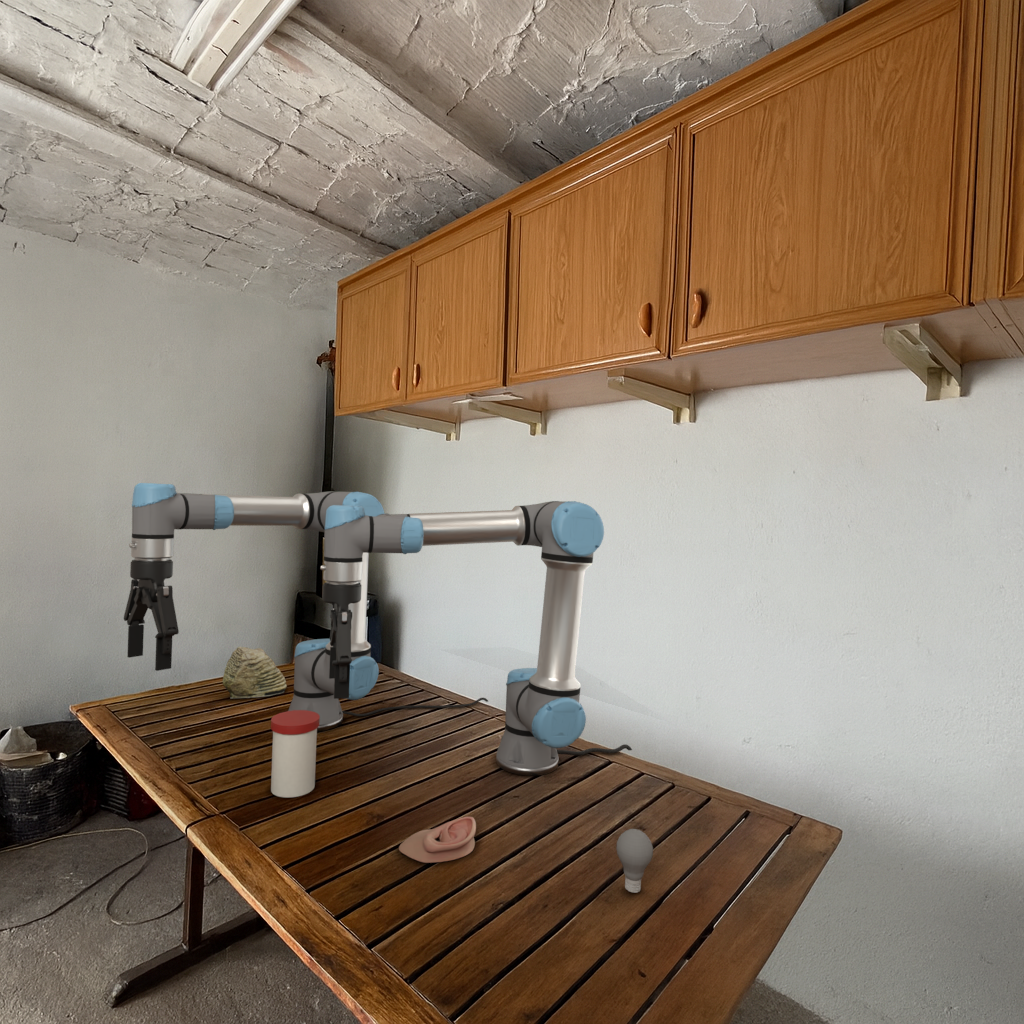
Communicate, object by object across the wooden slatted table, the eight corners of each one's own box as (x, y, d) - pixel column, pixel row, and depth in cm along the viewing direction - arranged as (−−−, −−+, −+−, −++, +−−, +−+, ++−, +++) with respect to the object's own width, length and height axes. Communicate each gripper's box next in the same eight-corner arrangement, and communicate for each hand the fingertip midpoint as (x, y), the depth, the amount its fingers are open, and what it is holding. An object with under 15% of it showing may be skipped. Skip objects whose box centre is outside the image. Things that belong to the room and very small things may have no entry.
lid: (270, 720, 140) (270, 712, 140) (317, 716, 143) (317, 708, 143) (271, 736, 131) (271, 728, 130) (321, 732, 134) (321, 723, 134)
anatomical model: (392, 835, 112) (415, 805, 123) (391, 857, 112) (414, 825, 123) (465, 847, 109) (481, 815, 121) (464, 869, 109) (480, 835, 121)
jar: (270, 781, 140) (272, 714, 139) (313, 776, 143) (315, 711, 143) (271, 800, 131) (273, 729, 131) (316, 794, 135) (319, 725, 134)
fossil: (218, 695, 195) (220, 647, 195) (278, 685, 208) (279, 640, 207) (228, 703, 189) (230, 653, 188) (289, 692, 201) (290, 645, 201)
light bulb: (610, 879, 108) (613, 822, 108) (644, 879, 109) (647, 822, 109) (619, 902, 102) (622, 840, 102) (655, 901, 103) (658, 840, 103)
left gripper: (108, 554, 134) (104, 654, 134) (159, 565, 118) (155, 678, 119) (146, 552, 140) (143, 648, 140) (199, 563, 124) (195, 671, 124)
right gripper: (319, 574, 137) (316, 671, 138) (326, 591, 114) (322, 708, 114) (355, 574, 140) (351, 669, 140) (369, 591, 116) (364, 705, 117)
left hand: (148, 662), depth 129 cm, fingers open, 13 cm apart
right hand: (338, 687), depth 127 cm, fingers open, 13 cm apart
